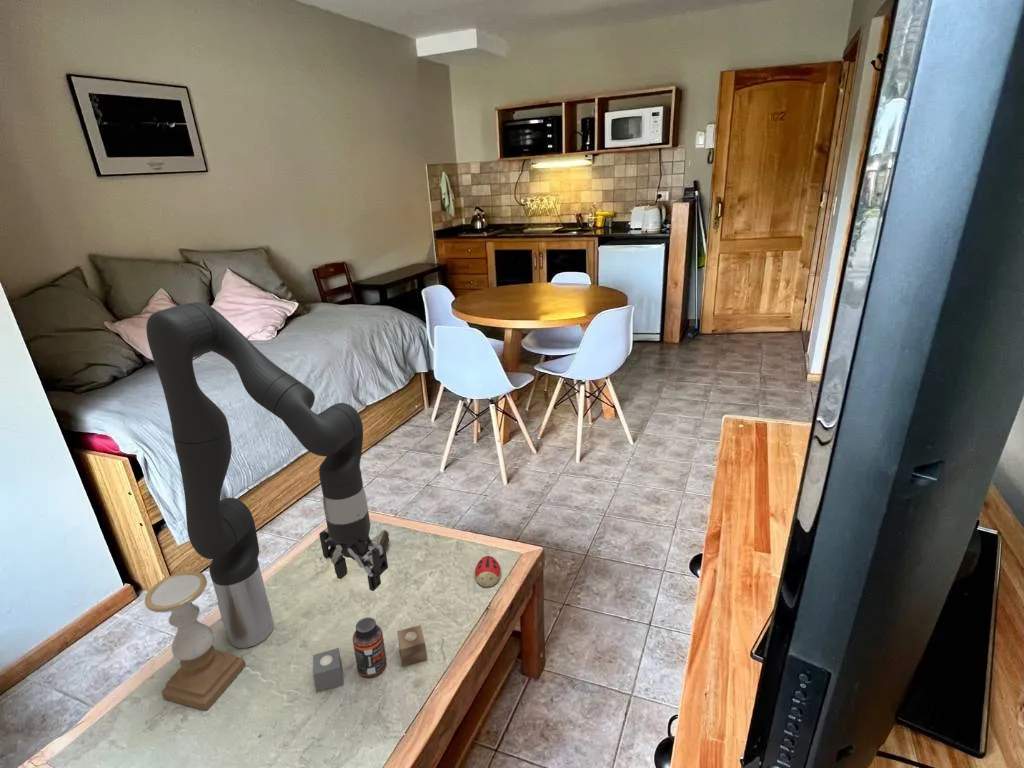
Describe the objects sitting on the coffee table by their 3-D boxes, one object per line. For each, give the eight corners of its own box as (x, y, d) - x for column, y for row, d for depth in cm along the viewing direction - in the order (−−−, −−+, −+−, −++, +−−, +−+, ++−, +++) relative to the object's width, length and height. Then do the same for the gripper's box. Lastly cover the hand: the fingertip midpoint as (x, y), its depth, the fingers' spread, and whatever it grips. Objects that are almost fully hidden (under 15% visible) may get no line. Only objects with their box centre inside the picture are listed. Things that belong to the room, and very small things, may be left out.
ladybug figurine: (474, 589, 133) (473, 578, 132) (474, 562, 142) (474, 551, 141) (501, 588, 133) (501, 576, 132) (500, 561, 142) (499, 550, 141)
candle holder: (247, 664, 114) (221, 573, 105) (207, 711, 104) (175, 615, 96) (204, 654, 117) (176, 565, 108) (161, 699, 107) (126, 604, 98)
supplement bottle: (379, 680, 109) (372, 638, 105) (352, 676, 111) (344, 634, 107) (391, 656, 115) (385, 615, 111) (365, 652, 116) (358, 611, 112)
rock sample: (355, 531, 150) (371, 520, 145) (379, 540, 153) (396, 530, 148) (346, 567, 142) (363, 557, 138) (371, 576, 146) (388, 566, 141)
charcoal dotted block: (317, 693, 107) (313, 674, 105) (317, 673, 112) (312, 654, 110) (343, 685, 109) (339, 666, 107) (342, 665, 113) (338, 647, 111)
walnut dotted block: (403, 667, 112) (400, 648, 110) (399, 649, 117) (397, 630, 115) (427, 660, 114) (424, 641, 112) (422, 642, 118) (420, 624, 116)
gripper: (301, 512, 99) (316, 584, 105) (363, 531, 93) (375, 606, 99) (331, 491, 105) (343, 560, 111) (391, 508, 99) (400, 580, 105)
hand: (358, 581), depth 105 cm, fingers open, 7 cm apart
